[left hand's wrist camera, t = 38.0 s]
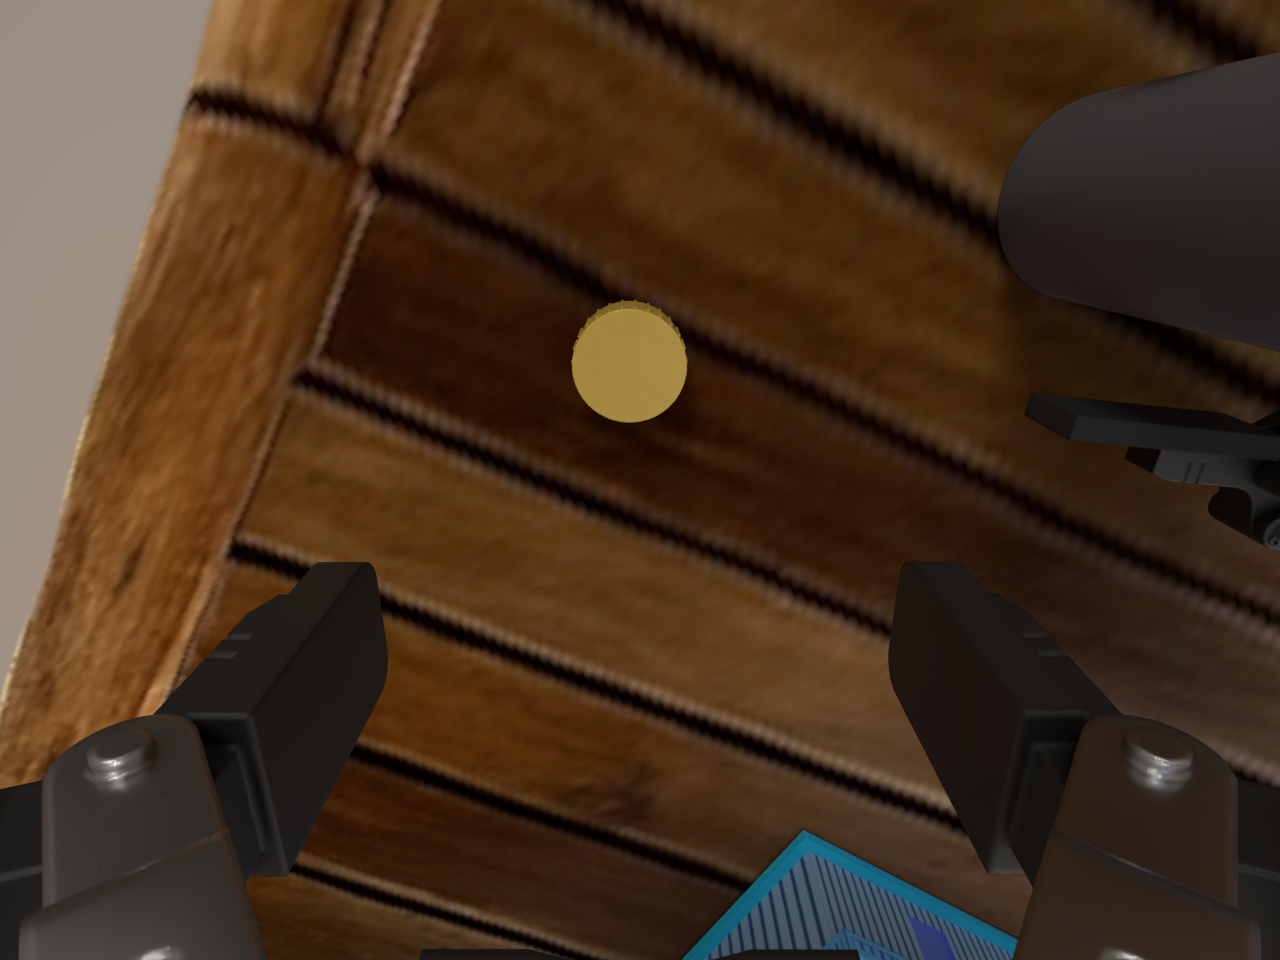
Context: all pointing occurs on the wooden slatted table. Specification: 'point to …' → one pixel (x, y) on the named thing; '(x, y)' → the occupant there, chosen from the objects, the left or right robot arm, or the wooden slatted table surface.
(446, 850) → the wooden slatted table surface
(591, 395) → the cap
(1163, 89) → the bottle
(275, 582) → the wooden slatted table surface
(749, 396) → the wooden slatted table surface
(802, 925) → the model building
